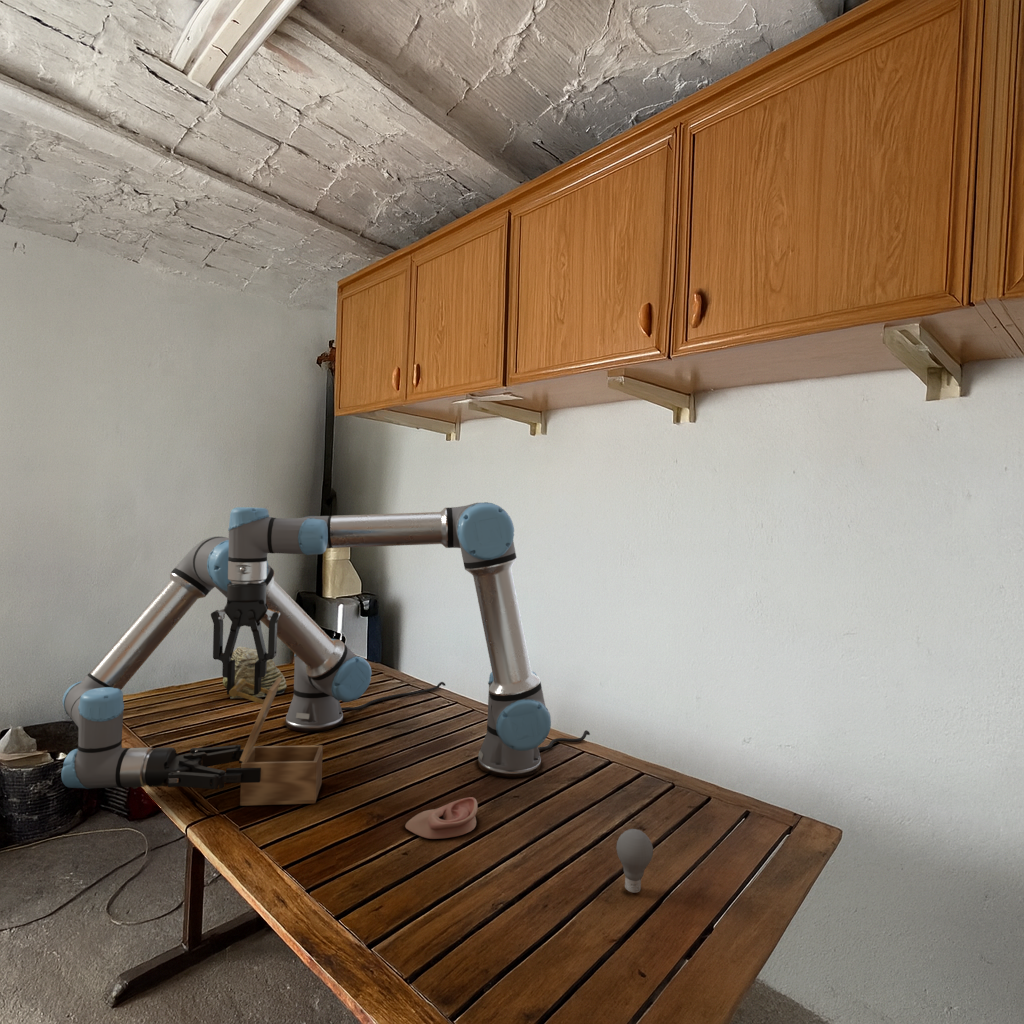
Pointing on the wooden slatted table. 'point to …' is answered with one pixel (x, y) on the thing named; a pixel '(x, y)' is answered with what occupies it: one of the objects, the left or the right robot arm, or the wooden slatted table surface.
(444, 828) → the anatomical model
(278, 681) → the lid
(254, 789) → the chest
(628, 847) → the light bulb
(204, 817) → the wooden slatted table surface
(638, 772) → the wooden slatted table surface
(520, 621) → the right robot arm
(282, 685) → the fossil
